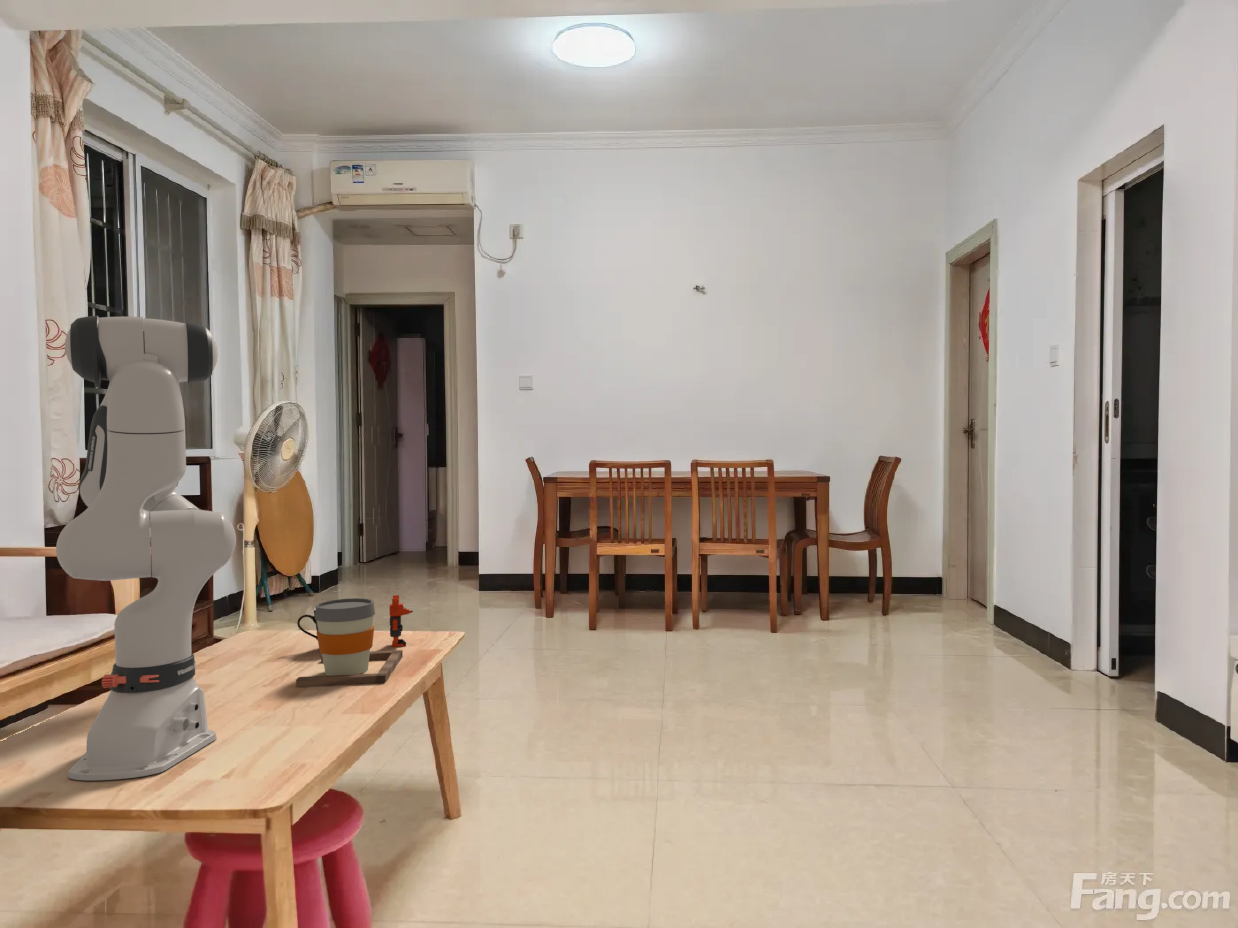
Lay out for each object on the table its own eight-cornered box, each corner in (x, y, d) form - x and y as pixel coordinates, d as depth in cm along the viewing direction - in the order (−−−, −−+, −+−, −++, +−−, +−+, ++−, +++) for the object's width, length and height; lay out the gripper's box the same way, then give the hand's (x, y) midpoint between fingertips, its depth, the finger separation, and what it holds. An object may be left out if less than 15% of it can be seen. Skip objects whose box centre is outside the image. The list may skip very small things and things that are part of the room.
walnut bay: (385, 682, 168) (385, 675, 168) (296, 686, 166) (295, 679, 166) (402, 656, 188) (402, 650, 188) (323, 659, 187) (323, 653, 187)
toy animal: (413, 647, 196) (411, 598, 196) (390, 649, 195) (388, 600, 195) (413, 640, 204) (412, 593, 204) (391, 641, 203) (390, 594, 203)
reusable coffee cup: (387, 670, 177) (385, 602, 177) (332, 683, 168) (330, 611, 168) (359, 660, 186) (358, 595, 185) (306, 672, 177) (304, 604, 177)
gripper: (154, 501, 160) (204, 542, 158) (212, 513, 180) (257, 550, 178) (133, 526, 159) (183, 568, 157) (194, 536, 179) (239, 573, 177)
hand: (223, 559), depth 168 cm, fingers closed
